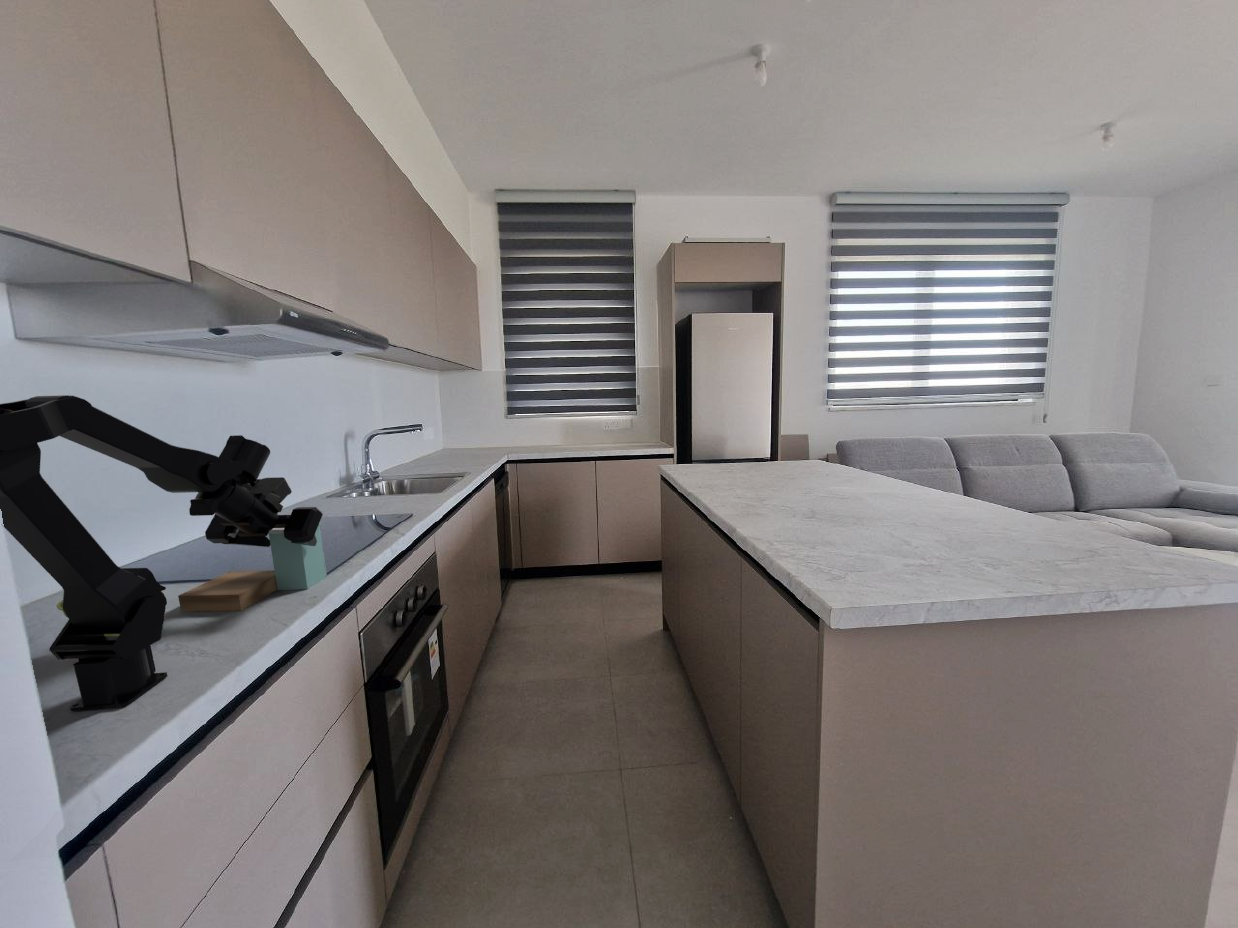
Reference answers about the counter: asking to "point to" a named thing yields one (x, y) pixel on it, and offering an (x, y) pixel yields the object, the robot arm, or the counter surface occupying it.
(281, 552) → the tea tin
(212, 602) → the walnut block
